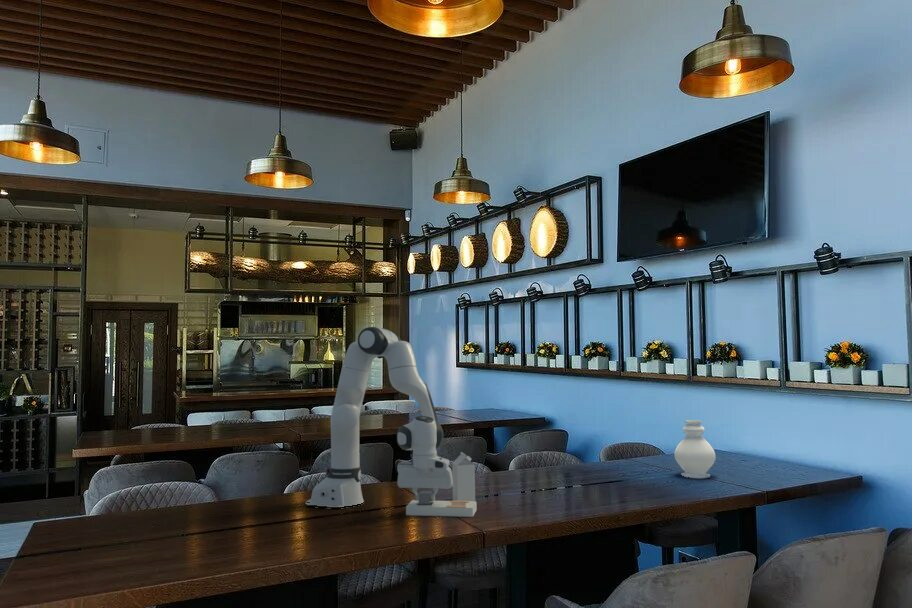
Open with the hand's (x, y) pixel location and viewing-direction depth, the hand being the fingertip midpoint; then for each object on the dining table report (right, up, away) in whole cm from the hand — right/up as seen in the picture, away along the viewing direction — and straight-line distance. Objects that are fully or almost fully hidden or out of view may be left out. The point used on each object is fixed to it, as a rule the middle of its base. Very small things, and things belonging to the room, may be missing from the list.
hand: (425, 500), depth 239 cm
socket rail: (+6, -5, -1) cm, 8 cm away
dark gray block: (0, -4, 0) cm, 4 cm away
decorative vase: (+121, -8, +64) cm, 137 cm away
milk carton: (+14, -6, +18) cm, 23 cm away
